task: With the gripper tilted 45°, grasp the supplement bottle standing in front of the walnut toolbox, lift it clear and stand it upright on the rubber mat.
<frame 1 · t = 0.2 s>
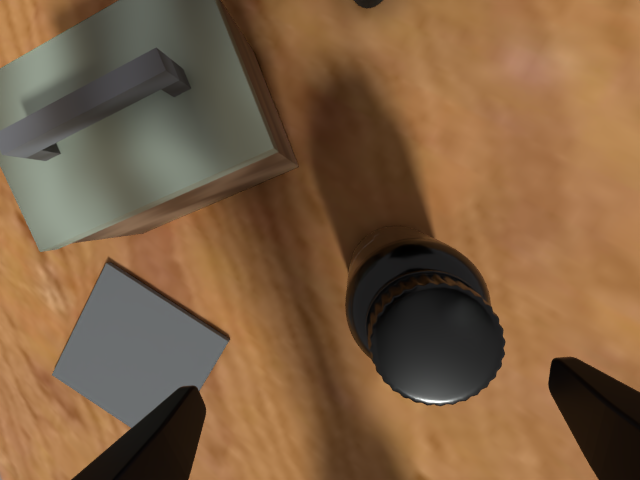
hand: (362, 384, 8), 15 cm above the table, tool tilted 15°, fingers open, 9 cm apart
toolbox: (194, 147, 23), on the table
mat: (139, 356, 26), on the table
supplement bottle: (393, 270, 23), on the table
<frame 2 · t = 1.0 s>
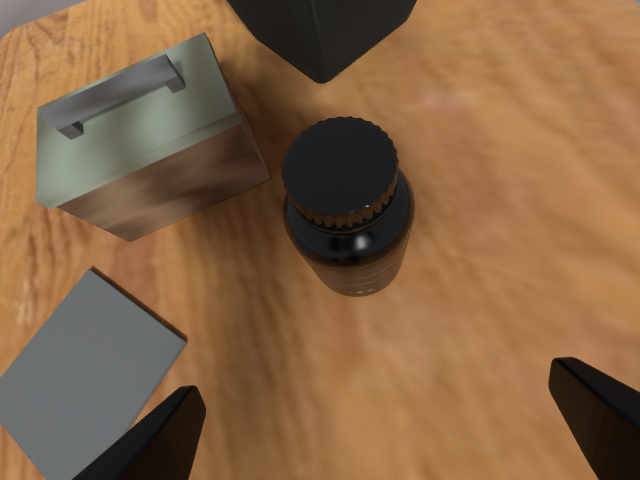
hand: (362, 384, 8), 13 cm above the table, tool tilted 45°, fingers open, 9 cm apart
toolbox: (190, 173, 29), on the table
mat: (85, 371, 23), on the table
flower pot: (331, 30, 33), on the table
supplement bottle: (356, 256, 23), on the table
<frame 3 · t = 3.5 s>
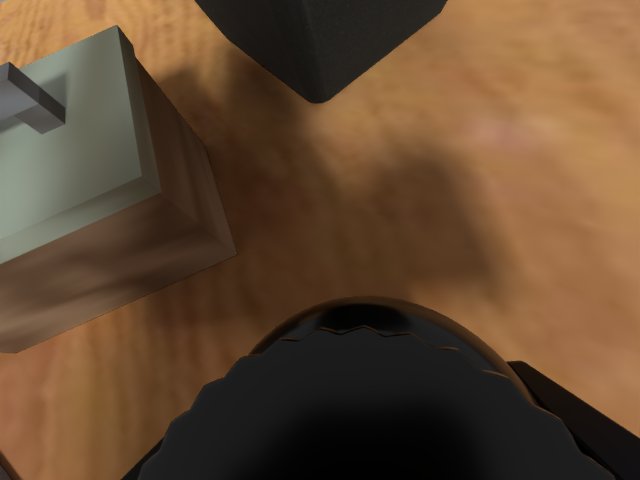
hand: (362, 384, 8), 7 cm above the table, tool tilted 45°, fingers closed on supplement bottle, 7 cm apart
toolbox: (119, 239, 19), on the table
flower pot: (331, 28, 24), on the table
supplement bottle: (374, 409, 13), on the table, touching gripper
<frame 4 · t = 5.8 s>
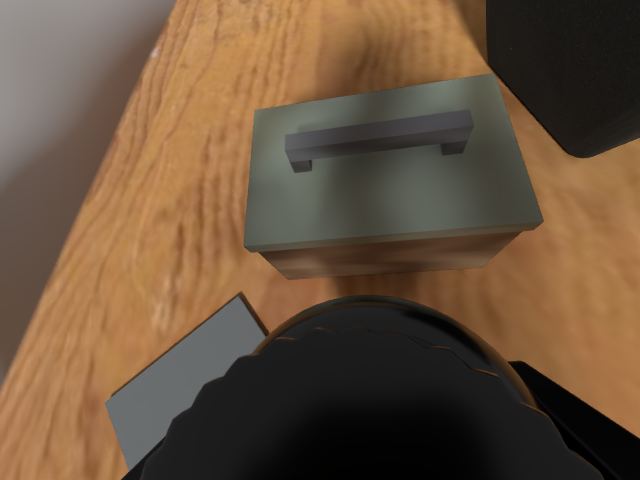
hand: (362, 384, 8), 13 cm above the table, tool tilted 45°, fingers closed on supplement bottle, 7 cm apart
toolbox: (374, 219, 24), on the table
mat: (213, 421, 20), on the table
flower pot: (596, 83, 25), on the table
supplement bottle: (379, 407, 13), point 6 cm above the table, touching gripper
when the fingers open (8 cm above the table, at t = 8.5 s): supplement bottle stays where it is, resting on mat.
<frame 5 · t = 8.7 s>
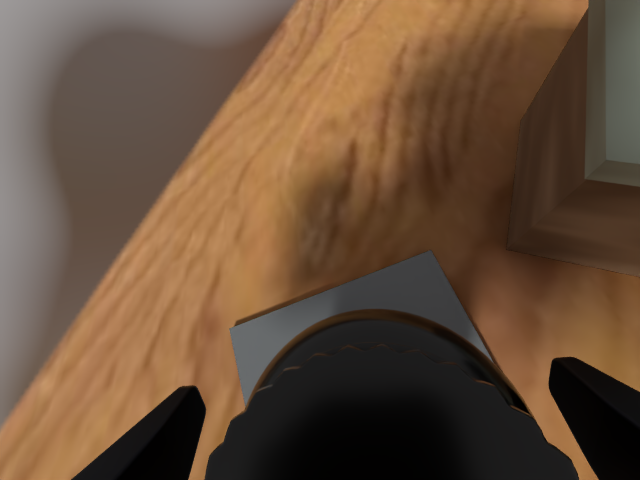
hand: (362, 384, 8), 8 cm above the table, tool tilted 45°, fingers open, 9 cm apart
mat: (372, 405, 14), on the table
supplement bottle: (379, 409, 14), resting on mat
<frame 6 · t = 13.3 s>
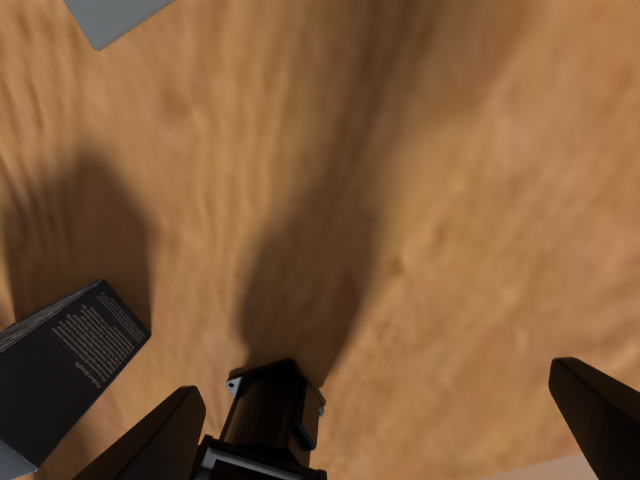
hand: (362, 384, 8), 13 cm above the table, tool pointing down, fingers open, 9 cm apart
small box: (86, 328, 25), on the table
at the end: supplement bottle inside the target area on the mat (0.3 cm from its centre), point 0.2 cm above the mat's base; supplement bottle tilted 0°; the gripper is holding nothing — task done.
